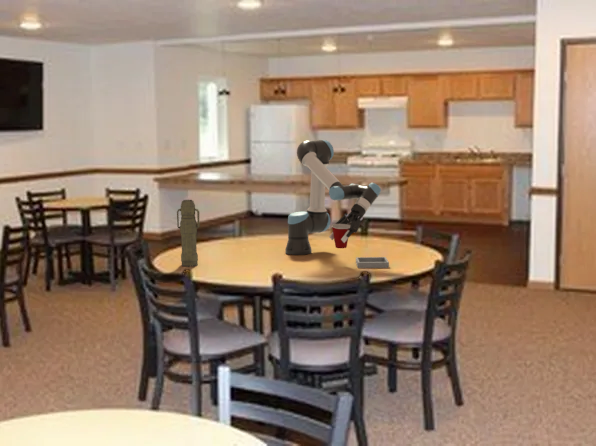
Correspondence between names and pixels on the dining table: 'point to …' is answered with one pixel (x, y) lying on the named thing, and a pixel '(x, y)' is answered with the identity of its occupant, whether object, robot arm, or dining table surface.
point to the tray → (372, 262)
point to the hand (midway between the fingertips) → (336, 239)
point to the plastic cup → (340, 234)
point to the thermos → (188, 233)
